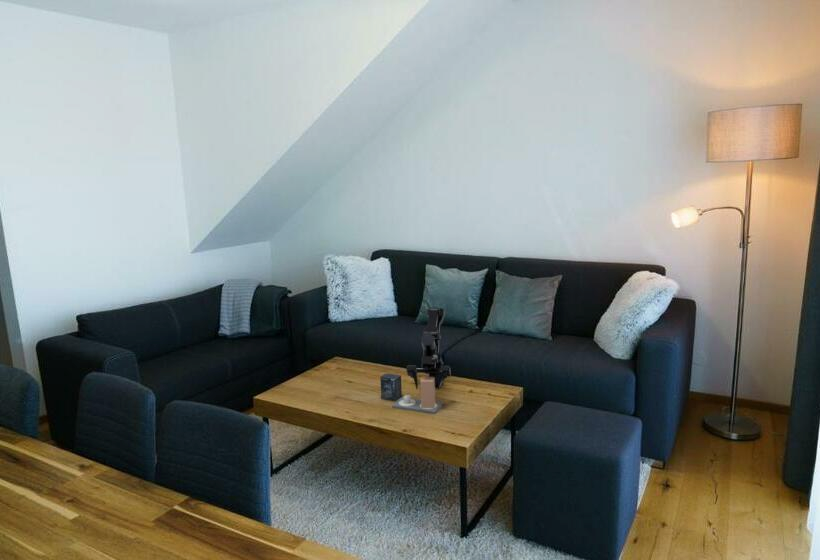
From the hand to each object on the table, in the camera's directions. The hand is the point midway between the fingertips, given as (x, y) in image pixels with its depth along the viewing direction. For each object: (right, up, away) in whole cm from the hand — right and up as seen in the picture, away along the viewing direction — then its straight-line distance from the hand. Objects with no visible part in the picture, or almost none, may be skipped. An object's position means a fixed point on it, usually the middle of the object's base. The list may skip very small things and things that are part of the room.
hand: (427, 389), depth 247 cm
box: (-16, -7, +15) cm, 23 cm away
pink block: (0, -8, +3) cm, 8 cm away
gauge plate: (-4, -8, +5) cm, 11 cm away
